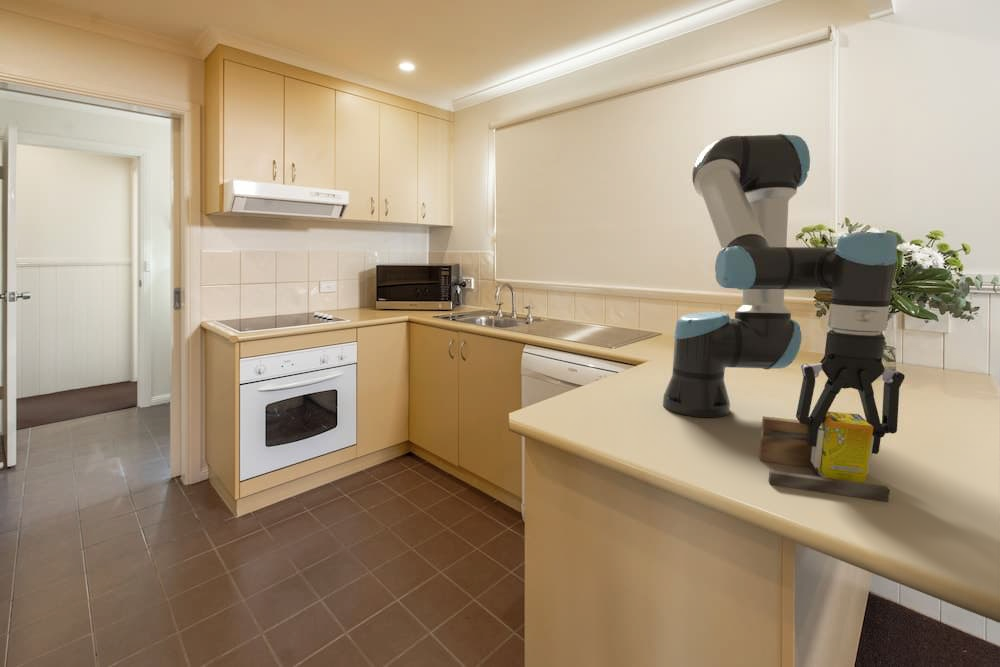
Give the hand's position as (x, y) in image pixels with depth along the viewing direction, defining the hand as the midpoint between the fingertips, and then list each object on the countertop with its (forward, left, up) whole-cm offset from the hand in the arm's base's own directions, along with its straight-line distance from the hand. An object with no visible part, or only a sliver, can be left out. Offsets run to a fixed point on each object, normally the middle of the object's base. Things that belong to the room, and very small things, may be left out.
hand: (838, 467), depth 80 cm
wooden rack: (-3, -1, -2) cm, 4 cm away
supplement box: (0, 0, -2) cm, 2 cm away
